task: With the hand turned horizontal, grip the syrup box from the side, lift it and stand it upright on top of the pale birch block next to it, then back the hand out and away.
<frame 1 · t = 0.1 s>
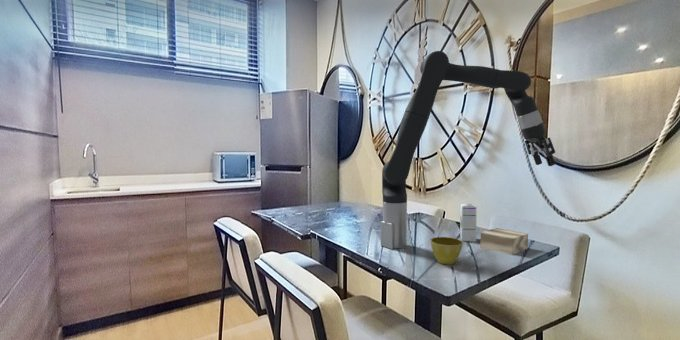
hand: (545, 164, 132), 31 cm above the table, tool tilted 20°, fingers open, 8 cm apart
birch block: (503, 248, 132), on the table
syrup box: (467, 240, 144), on the table
flower pot: (445, 262, 116), on the table
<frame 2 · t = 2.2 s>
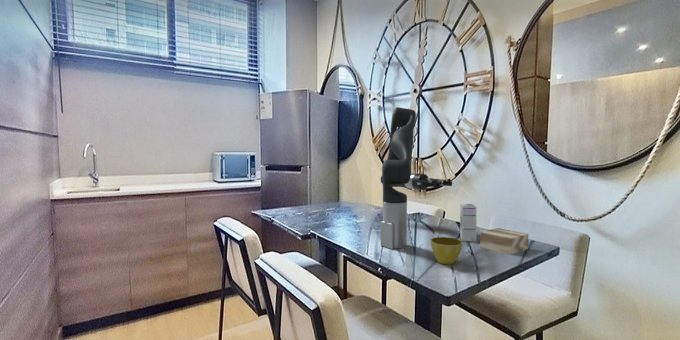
hand: (445, 184, 151), 22 cm above the table, tool horizontal, fingers open, 8 cm apart
nothing on the table moved.
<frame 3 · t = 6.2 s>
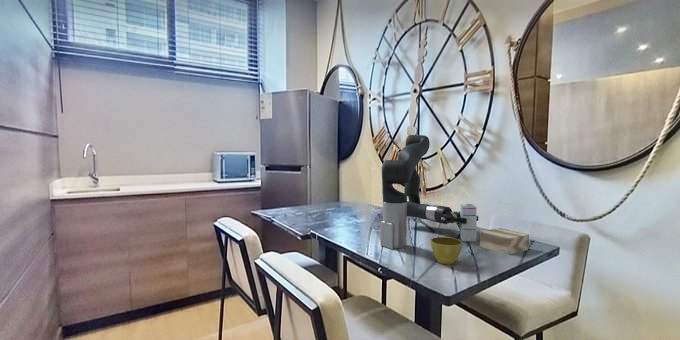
hand: (472, 219, 142), 9 cm above the table, tool horizontal, fingers open, 8 cm apart
nothing on the table moved.
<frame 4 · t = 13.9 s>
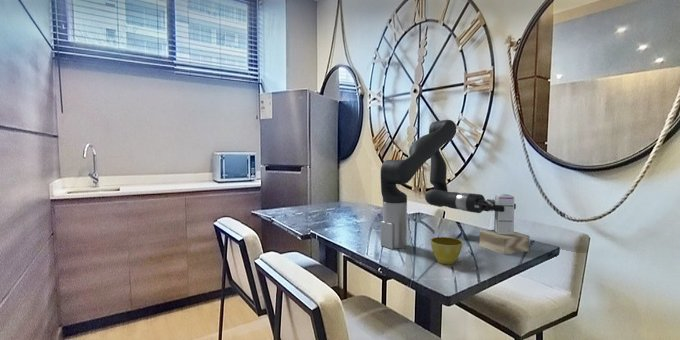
hand: (509, 207, 129), 16 cm above the table, tool horizontal, fingers closed on syrup box, 8 cm apart
birch block: (503, 249, 132), on the table, touching syrup box
syrup box: (503, 233, 131), point 6 cm above the table, touching birch block, gripper
everything else where it was.
when the fingers open (16 cm above the table, at t = 14.7 s): syrup box stays where it is, point 6 cm above the table.
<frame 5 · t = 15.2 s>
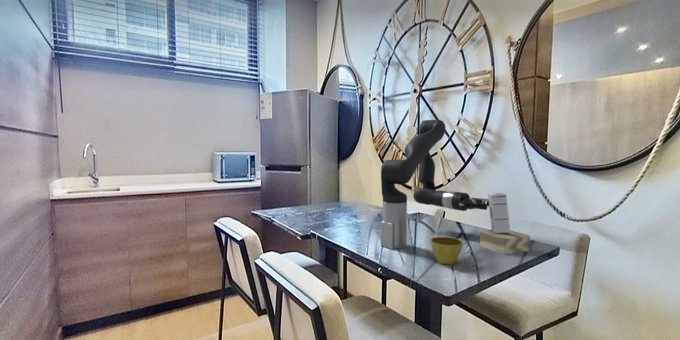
hand: (492, 205, 135), 15 cm above the table, tool horizontal, fingers open, 8 cm apart
birch block: (503, 249, 132), on the table
syrup box: (500, 232, 132), point 6 cm above the table
everything else where it was.
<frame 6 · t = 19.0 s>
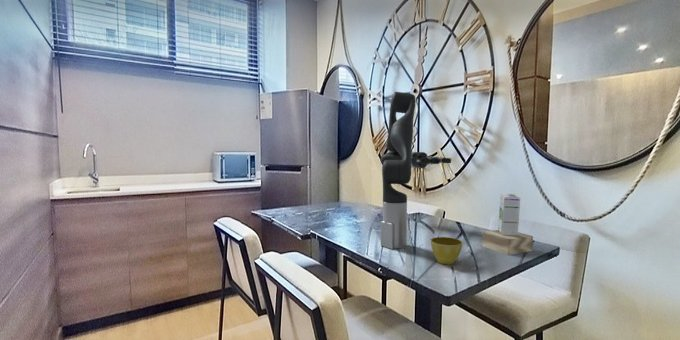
hand: (444, 161, 153), 32 cm above the table, tool horizontal, fingers open, 8 cm apart
birch block: (506, 249, 131), on the table, touching syrup box
syrup box: (507, 233, 131), point 6 cm above the table, touching birch block
everything else where it was.
at the end: syrup box inside the target area on the birch block (0.1 cm from its centre), point 6.0 cm above the birch block's base; syrup box tilted 3°; the gripper is holding nothing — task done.
